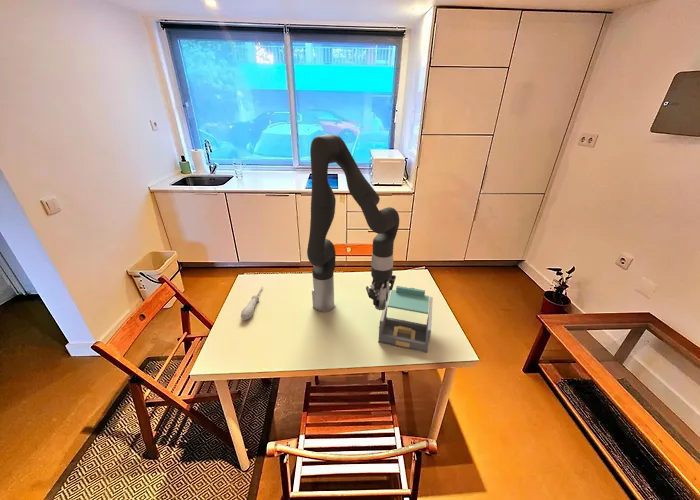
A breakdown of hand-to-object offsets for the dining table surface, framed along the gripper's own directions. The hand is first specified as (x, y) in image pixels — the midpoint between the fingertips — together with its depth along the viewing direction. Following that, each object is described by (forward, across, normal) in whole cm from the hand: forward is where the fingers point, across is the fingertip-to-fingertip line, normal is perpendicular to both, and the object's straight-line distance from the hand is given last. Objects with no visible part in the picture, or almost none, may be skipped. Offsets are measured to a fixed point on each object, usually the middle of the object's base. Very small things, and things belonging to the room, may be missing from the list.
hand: (380, 303), depth 109 cm
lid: (+7, -16, +2) cm, 17 cm away
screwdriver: (+17, +28, -54) cm, 63 cm away
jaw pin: (+2, 0, 0) cm, 2 cm away
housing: (+18, -12, +4) cm, 22 cm away
